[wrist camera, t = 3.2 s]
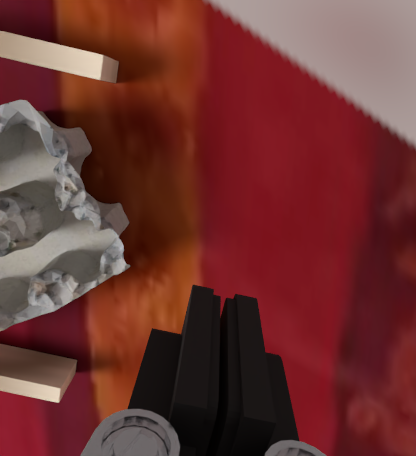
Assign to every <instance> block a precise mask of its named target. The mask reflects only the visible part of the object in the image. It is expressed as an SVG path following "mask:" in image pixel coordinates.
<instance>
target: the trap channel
mask: <svg viewBox="0 0 416 456" xmlns="http://www.w3.org/2000/svg"><path fill="white" fill-rule="evenodd" d="M0 57H4V58H8V59H12V60H16V61H21V62H25V63H29V64H33V65H38V66H42V67H46V68H50V69H55V70H59V71H63V72H68V73H72V74H76V75H80V76H85V77H89V78H93V79H97V80H102V81H107V82H111V83H116V79H117V72H118V65H119V61H116V60H114V59H112V58H109V57H107V56H104V55H101V54H97V53H93V52H88V51H84V50H80V49H76V48H71V47H67V46H63V45H59V44H54V43H50V42H46V41H42V40H38V39H33V38H29V37H25V36H21V35H16V34H12V33H8V32H4V31H0ZM76 364H77V360H75V359H70V358H65V357H61V356H56V355H51V354H46V353H42V352H37V351H32V350H28V349H23V348H18V347H14V346H9V345H4V344H0V391H5V392H10V393H14V394H19V395H24V396H29V397H33V398H38V399H43V400H48V401H52V402H57V403H59V402H60V400H61V398H62V396H63V394H64V393H65V391H66V389H67V387H68V385H69V384H70V382H71V380H72V378H73V376H74V375H75V371H76Z"/></svg>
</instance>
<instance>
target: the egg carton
mask: <svg viewBox="0 0 416 456" xmlns="http://www.w3.org/2000/svg"><path fill="white" fill-rule="evenodd" d="M91 152H92V148H91V145H90V143H89V141H88V140H87V138H86V135H85V132H84V131H83V130H82V129H81V128H71V129H66V128H62V127H58V126H56V125H55V124H53V123H52V122H51V121H50V120H49V119H48V118H47V117H46V115H45V114H44V113H43V112H42V111H36V110H35V109H34V108H33V107H32V106H31V105H30V103H29V102H28V101H25V100H17V101H14V102H10V103H7V104H3V105H1V106H0V331H2V330H5V329H7V328H8V327H10V326H12V325H14V324H17V323H20V322H23V321H26V320H29V319H32V318H34V317H37V316H39V315H42V314H46V313H50V312H53V311H55V310H57V309H59V308H61V307H62V306H64V305H66V304H67V303H69V302H71V301H73V300H75V299H76V298H78V297H80V296H81V295H83V294H84V293H86V292H87V291H89V290H90V289H92V288H94V287H96V286H98V285H99V284H101V283H102V282H104V281H105V280H107V279H108V278H110V277H112V276H113V275H118V274H120V273H121V272H123V271H125V270H126V269H128V268H129V267H130V265H128V264H126V262H125V260H124V257H123V251H124V245H123V243H122V242H121V240H120V238H119V236H120V234H121V233H122V232H123V231H124V230H125V228H126V227H127V226H128V224H129V221H128V218H127V216H126V214H125V213H124V211H123V208H122V205H121V204H120V203H115V204H105V203H101V202H99V201H97V200H95V199H94V198H93V197H92V196H91V195H89V194H88V193H87V192H86V191H85V187H84V184H83V182H82V179H81V178H80V172H81V166H82V163H83V161H84V159H85V158H86V157H87V156H88V155H89V154H90V153H91Z"/></svg>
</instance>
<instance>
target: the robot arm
mask: <svg viewBox="0 0 416 456" xmlns="http://www.w3.org/2000/svg"><path fill="white" fill-rule="evenodd" d="M213 292H214V289H211V288H206V287H201V286H197V285H193V286H192V290H191V294H190V299H189V303H188V307H187V311H186V316H185V320H184V324H183V329H182V333H181V334H176V333H171V332H167V331H162V330H157V329H153V328H152V331H151V334H150V337H149V340H148V343H147V347H146V350H145V353H144V357H143V360H142V363H141V366H140V370H139V373H138V376H137V380H136V383H135V386H134V389H133V393H132V396H131V399H130V403H129V406H128V409H126V410H122V411H119V412H116V413H113V414H112V415H110V416H109V417H107V418H106V419H104V420H103V421H102V422H101V424H100V425H99V426H98V427H97V429H96V430H95V431H94V433H93V435H92V437H91V438H90V440H89V442H88V444H87V445H86V447H85V449H84V450H83V452H82V454H81V456H326V455H325V454H323V453H322V452H320V451H319V450H318V449H316V448H315V447H312V446H310V445H308V444H306V443H304V442H299V437H298V432H297V428H296V423H295V418H294V414H293V409H292V404H291V400H290V395H289V390H288V386H287V381H286V376H285V372H284V367H283V362H282V359H281V357H280V356H279V355H275V354H271V353H266V352H265V347H264V340H263V334H262V328H261V321H260V315H259V309H258V302H257V299H256V298H252V297H247V296H243V295H238V294H235V296H234V298H233V299H230V298H226V300H225V303H224V307H223V311H222V314H221V318H220V302H221V297H220V296H217V295H213Z"/></svg>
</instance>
